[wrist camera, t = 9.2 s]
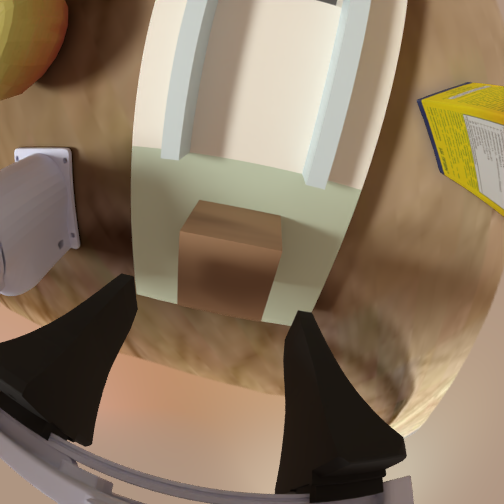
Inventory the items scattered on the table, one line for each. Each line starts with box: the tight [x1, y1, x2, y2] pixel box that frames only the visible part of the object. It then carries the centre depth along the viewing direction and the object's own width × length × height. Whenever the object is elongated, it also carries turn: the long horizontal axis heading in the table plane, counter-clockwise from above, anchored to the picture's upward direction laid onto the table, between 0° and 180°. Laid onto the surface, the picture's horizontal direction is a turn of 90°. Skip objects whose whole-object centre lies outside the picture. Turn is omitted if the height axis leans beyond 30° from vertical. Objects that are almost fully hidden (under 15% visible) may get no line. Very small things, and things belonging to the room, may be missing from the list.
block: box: [177, 200, 282, 322], centre depth 16 cm, size 5×5×4 cm
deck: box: [131, 0, 407, 326], centre depth 13 cm, size 32×14×4 cm, turn 169°
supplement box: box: [417, 82, 504, 217], centre depth 9 cm, size 6×6×11 cm
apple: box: [0, 0, 68, 101], centre depth 8 cm, size 10×10×8 cm
